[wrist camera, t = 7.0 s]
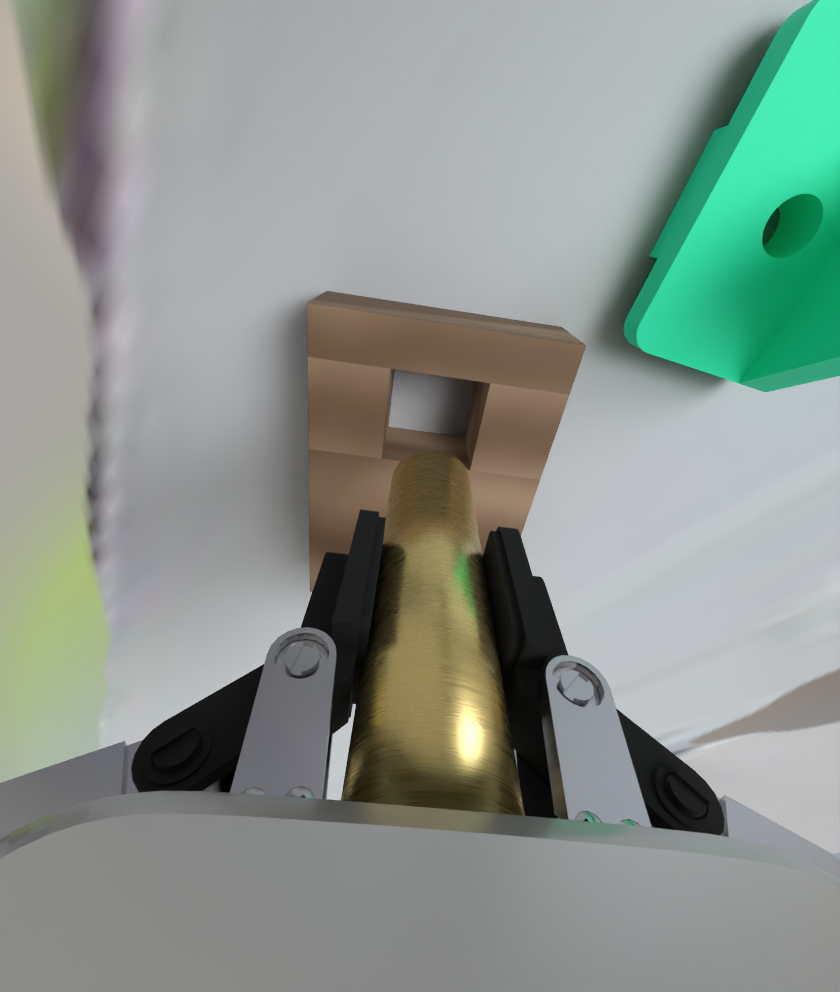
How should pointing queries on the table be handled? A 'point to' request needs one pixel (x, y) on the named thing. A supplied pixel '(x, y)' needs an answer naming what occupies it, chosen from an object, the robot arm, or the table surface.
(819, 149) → the camera mount
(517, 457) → the hitch block
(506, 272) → the table surface
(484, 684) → the brass pin
